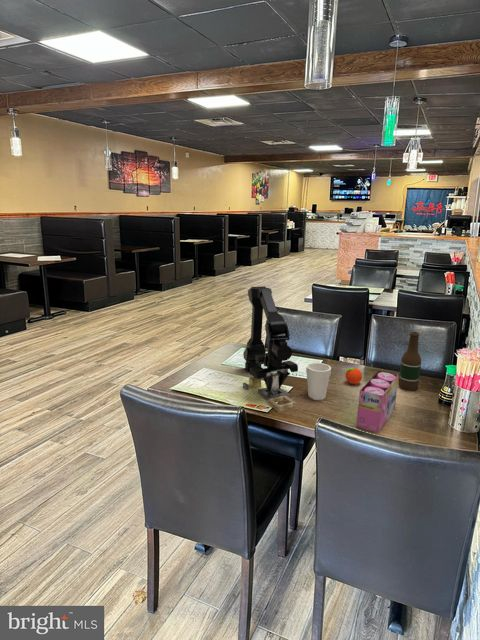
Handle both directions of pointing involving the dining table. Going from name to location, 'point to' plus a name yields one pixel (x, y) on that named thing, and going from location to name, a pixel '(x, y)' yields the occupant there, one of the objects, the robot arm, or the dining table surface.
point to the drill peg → (274, 383)
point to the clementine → (353, 375)
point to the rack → (277, 407)
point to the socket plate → (266, 395)
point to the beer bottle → (410, 365)
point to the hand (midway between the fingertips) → (273, 390)
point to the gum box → (377, 401)
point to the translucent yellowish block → (254, 382)
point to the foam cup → (317, 380)
